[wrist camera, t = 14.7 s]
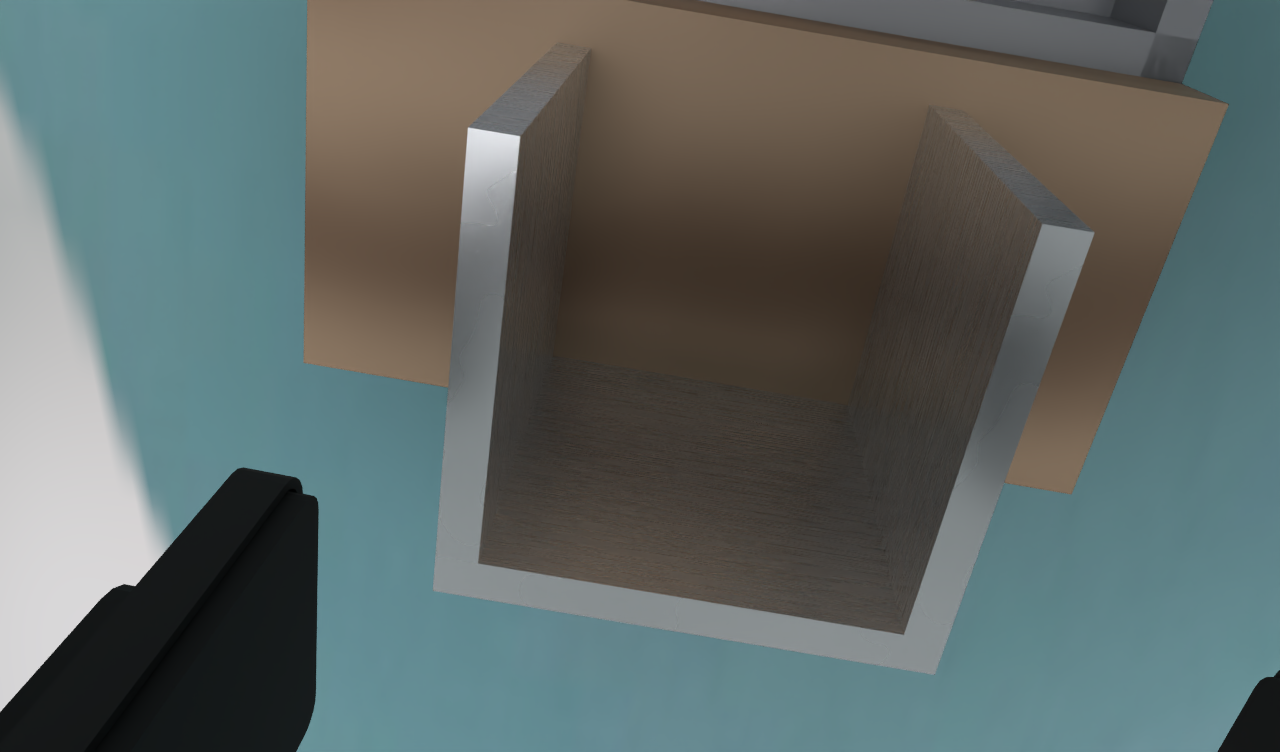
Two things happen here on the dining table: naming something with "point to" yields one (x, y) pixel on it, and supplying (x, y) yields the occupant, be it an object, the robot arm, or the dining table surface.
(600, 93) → the ledge
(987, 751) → the dining table surface
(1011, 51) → the tray
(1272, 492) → the dining table surface
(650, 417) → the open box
